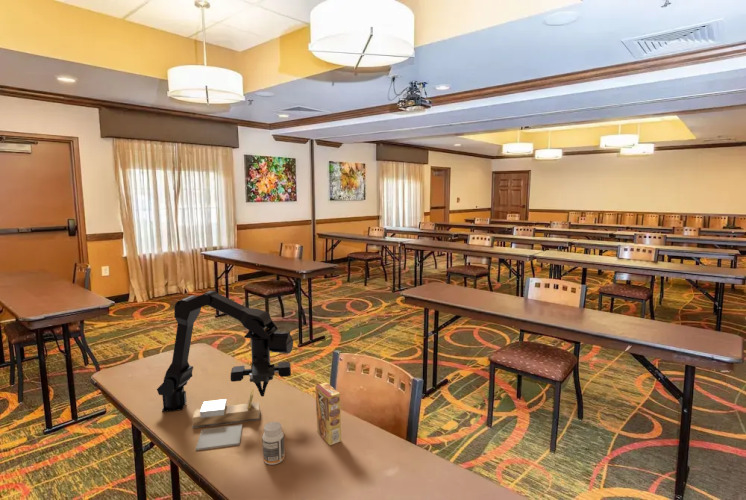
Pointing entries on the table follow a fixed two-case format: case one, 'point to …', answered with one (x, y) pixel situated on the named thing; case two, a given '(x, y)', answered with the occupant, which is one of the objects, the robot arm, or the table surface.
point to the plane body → (228, 416)
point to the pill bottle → (273, 443)
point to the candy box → (328, 413)
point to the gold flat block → (250, 399)
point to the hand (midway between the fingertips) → (262, 395)
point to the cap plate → (213, 408)
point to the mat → (219, 437)
